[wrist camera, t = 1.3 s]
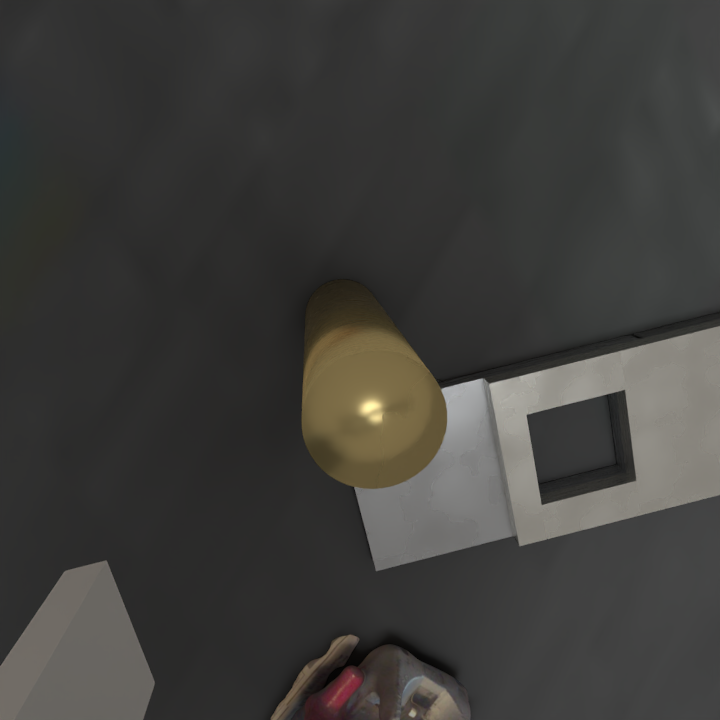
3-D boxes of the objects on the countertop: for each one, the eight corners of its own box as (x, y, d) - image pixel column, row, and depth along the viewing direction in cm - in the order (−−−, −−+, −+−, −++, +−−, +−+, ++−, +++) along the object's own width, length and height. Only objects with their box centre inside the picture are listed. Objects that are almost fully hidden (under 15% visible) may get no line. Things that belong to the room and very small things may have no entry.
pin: (315, 359, 30) (322, 504, 15) (297, 289, 29) (284, 370, 14) (386, 342, 30) (459, 469, 15) (369, 271, 29) (431, 334, 14)
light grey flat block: (507, 526, 33) (519, 546, 31) (477, 372, 30) (489, 383, 29) (777, 457, 33) (806, 472, 31) (768, 299, 31) (799, 306, 29)
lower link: (374, 560, 33) (376, 571, 32) (334, 408, 30) (335, 415, 29) (647, 490, 33) (657, 498, 32) (628, 334, 31) (639, 339, 30)
